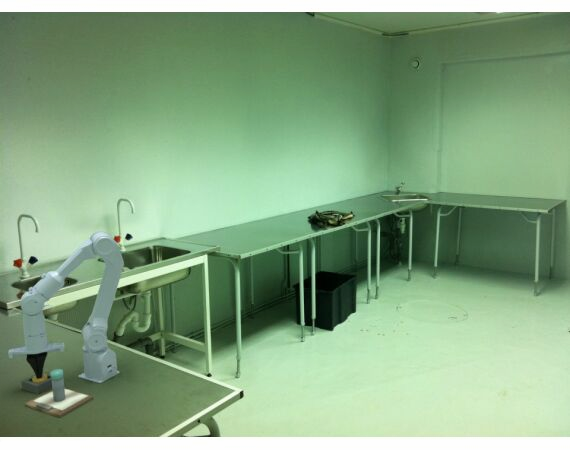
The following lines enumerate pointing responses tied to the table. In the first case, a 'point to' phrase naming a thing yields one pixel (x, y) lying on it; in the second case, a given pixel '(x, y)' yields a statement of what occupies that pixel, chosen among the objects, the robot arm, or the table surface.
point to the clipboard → (62, 407)
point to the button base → (37, 384)
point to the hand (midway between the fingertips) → (39, 377)
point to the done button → (39, 379)
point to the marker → (58, 385)
